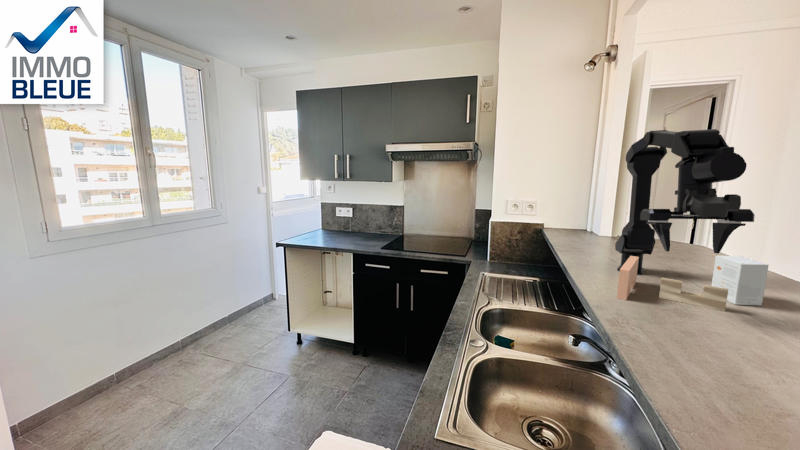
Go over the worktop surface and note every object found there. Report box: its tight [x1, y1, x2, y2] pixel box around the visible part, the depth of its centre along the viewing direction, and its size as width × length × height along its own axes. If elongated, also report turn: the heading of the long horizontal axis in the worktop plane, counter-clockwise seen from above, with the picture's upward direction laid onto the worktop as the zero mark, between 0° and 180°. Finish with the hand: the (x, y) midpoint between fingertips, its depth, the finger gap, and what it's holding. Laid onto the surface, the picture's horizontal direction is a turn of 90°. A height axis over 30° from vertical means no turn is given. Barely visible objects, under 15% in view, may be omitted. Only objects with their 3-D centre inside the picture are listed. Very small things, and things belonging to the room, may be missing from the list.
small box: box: [711, 255, 770, 306], centre depth 78 cm, size 8×6×10 cm
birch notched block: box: [658, 277, 728, 312], centre depth 77 cm, size 2×12×5 cm, turn 45°
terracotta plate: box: [616, 256, 639, 301], centre depth 85 cm, size 16×2×8 cm, turn 135°
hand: (691, 252), depth 71 cm, fingers open, 9 cm apart
